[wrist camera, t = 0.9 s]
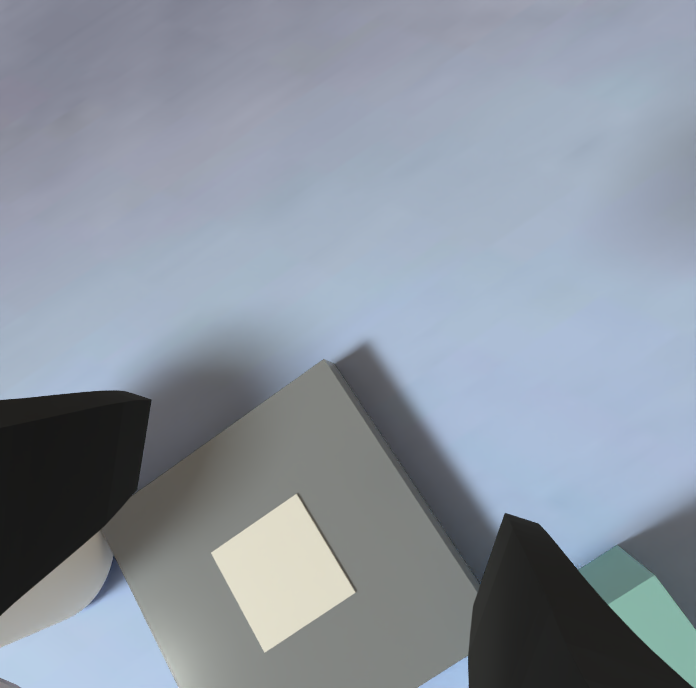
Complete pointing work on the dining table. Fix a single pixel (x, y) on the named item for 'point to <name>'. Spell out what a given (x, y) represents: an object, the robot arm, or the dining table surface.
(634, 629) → the teal block
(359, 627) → the slate base
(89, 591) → the beverage can
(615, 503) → the dining table surface
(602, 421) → the dining table surface
